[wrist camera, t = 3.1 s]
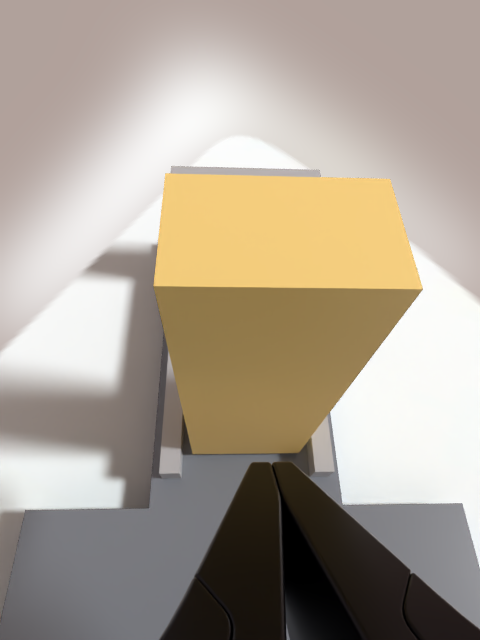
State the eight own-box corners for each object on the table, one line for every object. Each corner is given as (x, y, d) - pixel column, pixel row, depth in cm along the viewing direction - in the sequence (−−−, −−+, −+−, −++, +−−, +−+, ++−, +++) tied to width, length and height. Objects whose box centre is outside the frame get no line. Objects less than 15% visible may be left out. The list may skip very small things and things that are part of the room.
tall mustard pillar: (298, 453, 16) (422, 289, 6) (192, 454, 15) (153, 286, 6) (293, 392, 17) (389, 178, 7) (194, 393, 17) (165, 173, 7)
